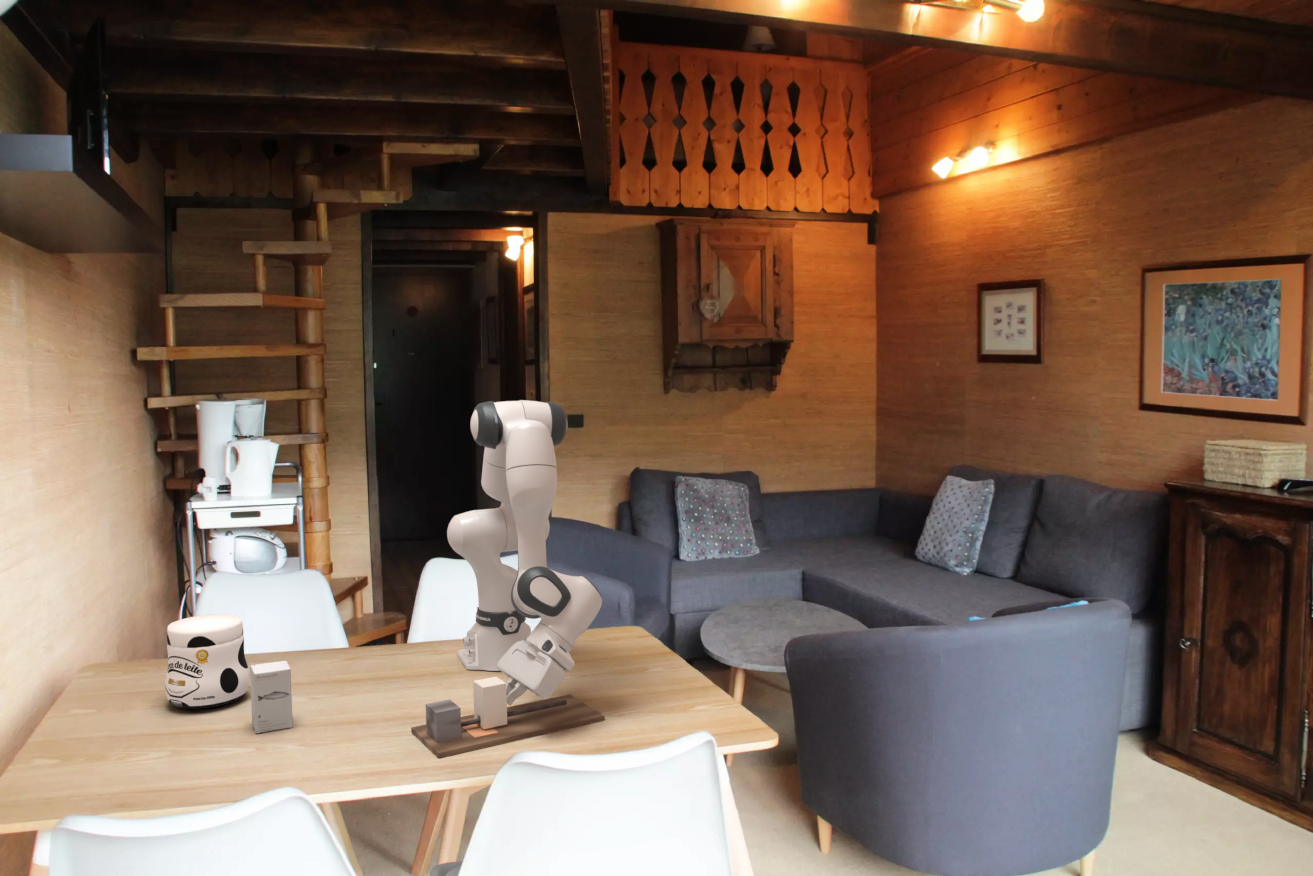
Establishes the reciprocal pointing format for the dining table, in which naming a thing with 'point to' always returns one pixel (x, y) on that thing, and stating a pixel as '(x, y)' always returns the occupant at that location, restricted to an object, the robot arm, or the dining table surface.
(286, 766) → the dining table surface
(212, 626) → the milk container
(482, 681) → the cream sliding block
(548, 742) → the dining table surface
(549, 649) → the robot arm
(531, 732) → the wooden slider track base
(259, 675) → the supplement box
